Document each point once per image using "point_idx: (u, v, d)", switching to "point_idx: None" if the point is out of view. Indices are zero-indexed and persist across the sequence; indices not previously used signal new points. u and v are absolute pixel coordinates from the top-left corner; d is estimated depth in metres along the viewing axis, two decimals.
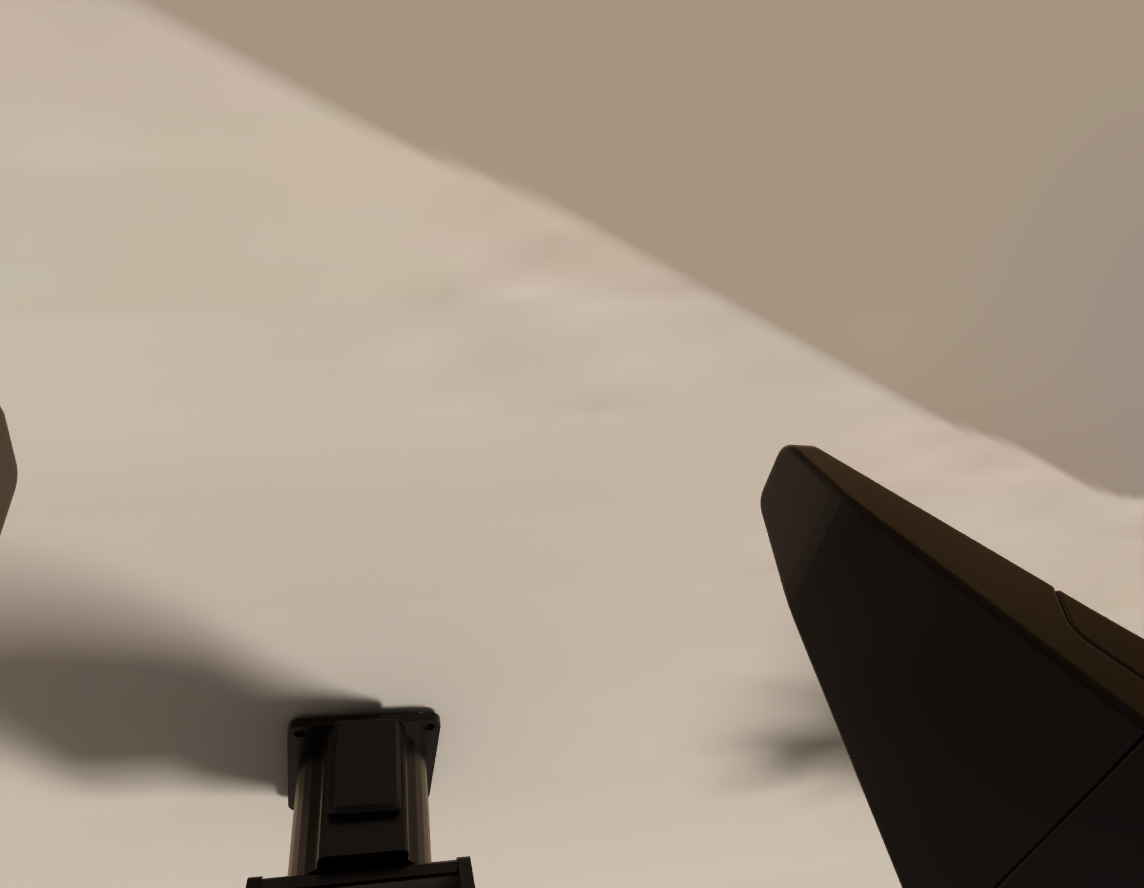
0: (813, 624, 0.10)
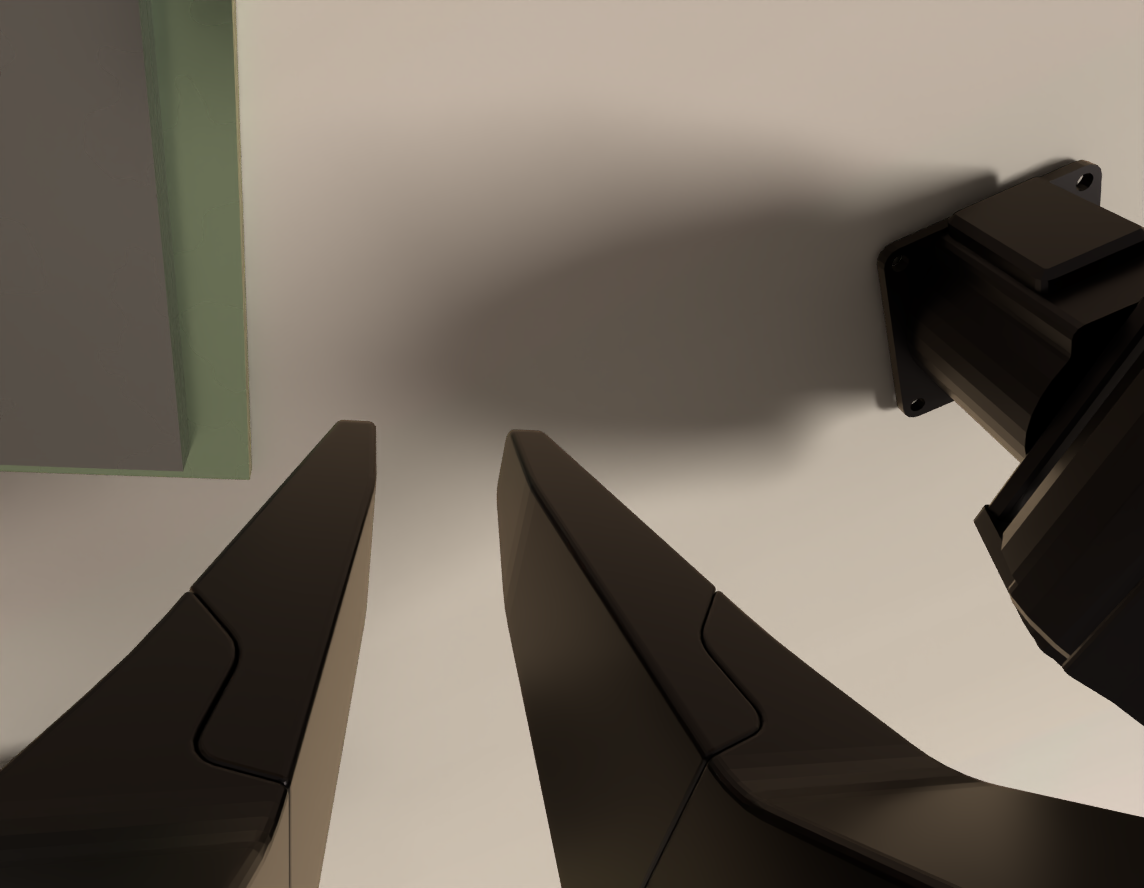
0: (517, 628, 0.09)
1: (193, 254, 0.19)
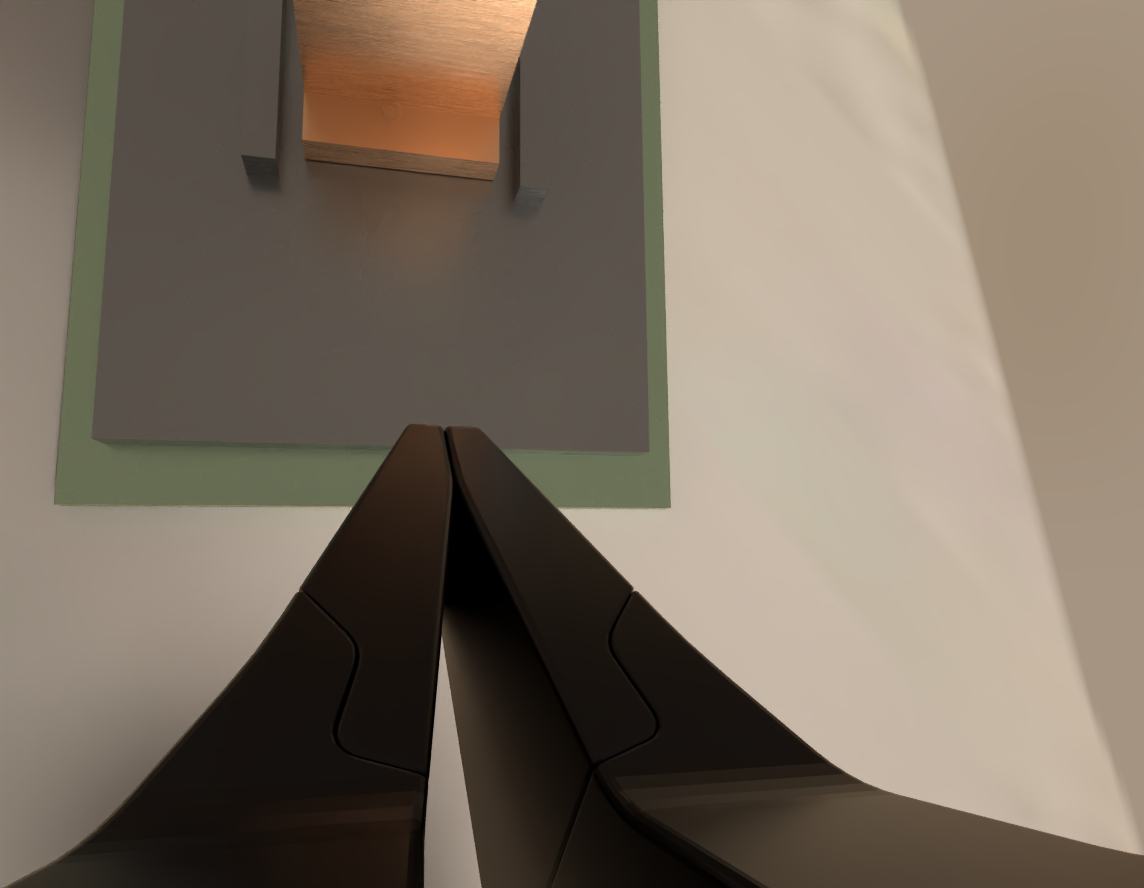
0: (447, 629, 0.08)
1: (345, 466, 0.21)
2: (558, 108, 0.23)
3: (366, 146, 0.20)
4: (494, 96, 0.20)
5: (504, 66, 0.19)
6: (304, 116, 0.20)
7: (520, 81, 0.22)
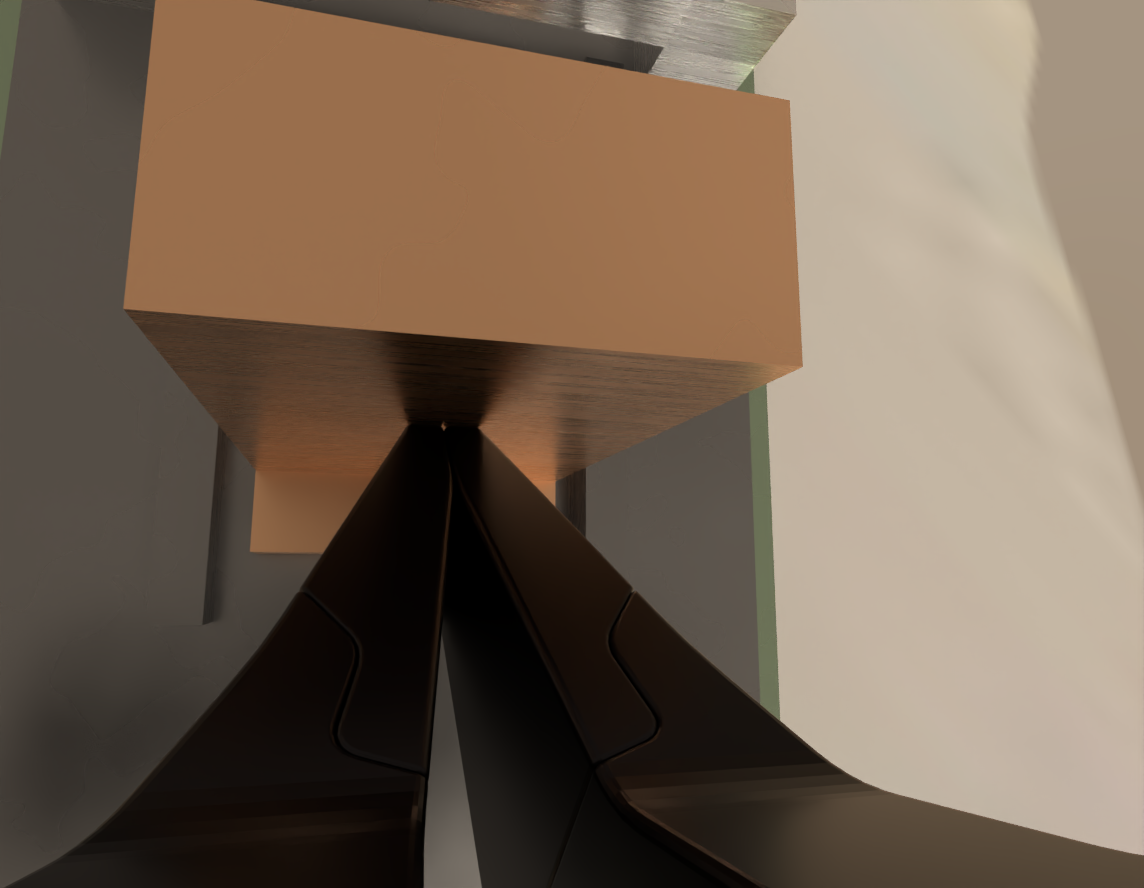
0: (447, 629, 0.08)
1: None
2: (635, 461, 0.16)
3: None
4: (552, 473, 0.13)
5: (576, 462, 0.12)
6: (254, 512, 0.13)
7: None
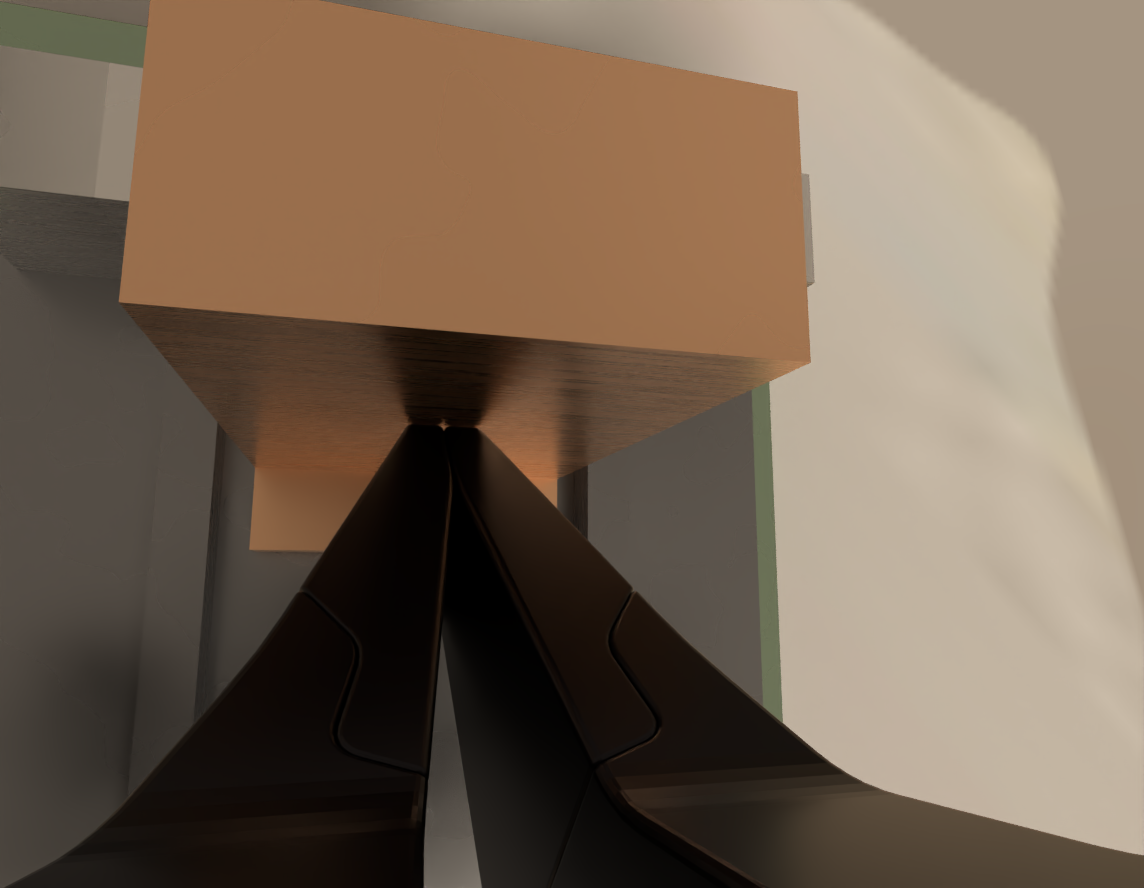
0: (447, 629, 0.08)
1: None
2: None
3: None
4: (554, 471, 0.13)
5: (578, 460, 0.12)
6: (254, 509, 0.12)
7: None
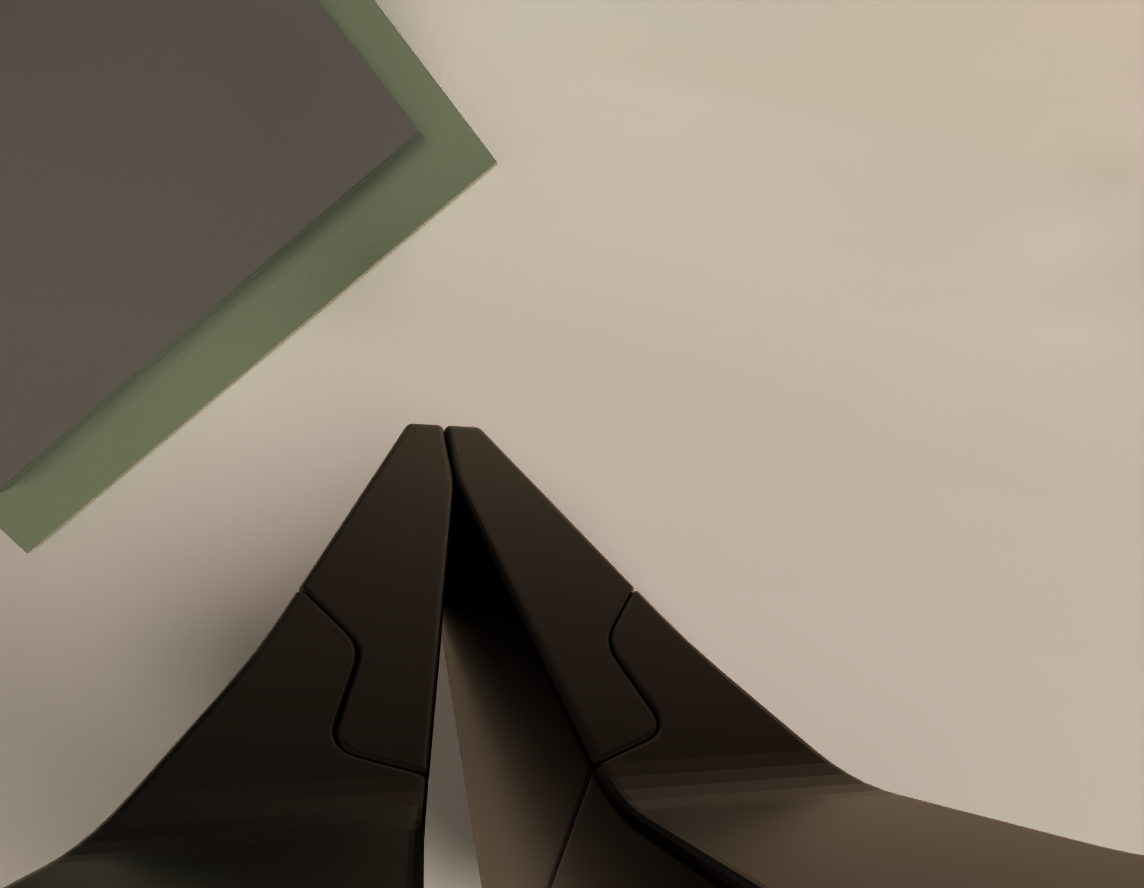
0: (447, 629, 0.08)
1: (184, 364, 0.20)
2: None
3: None
4: None
5: None
6: None
7: None
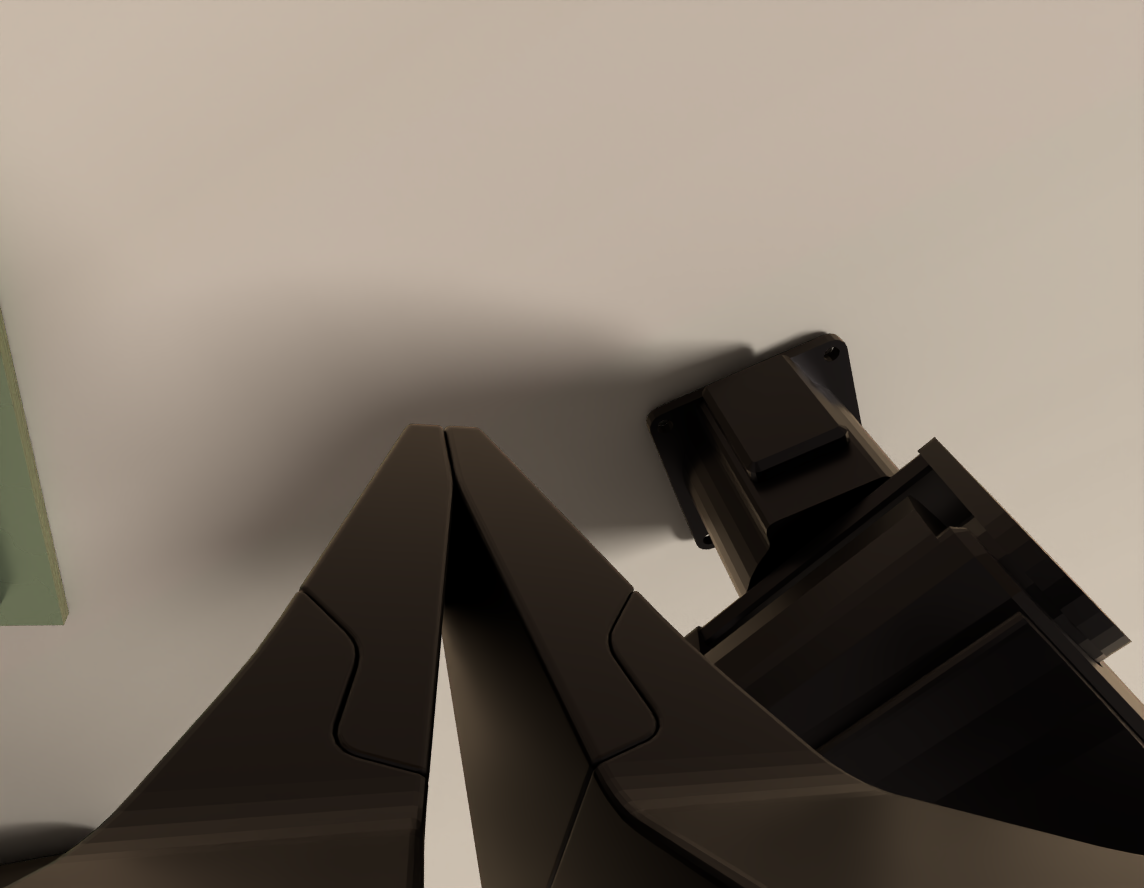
0: (447, 629, 0.08)
1: None
2: None
3: None
4: None
5: None
6: None
7: None
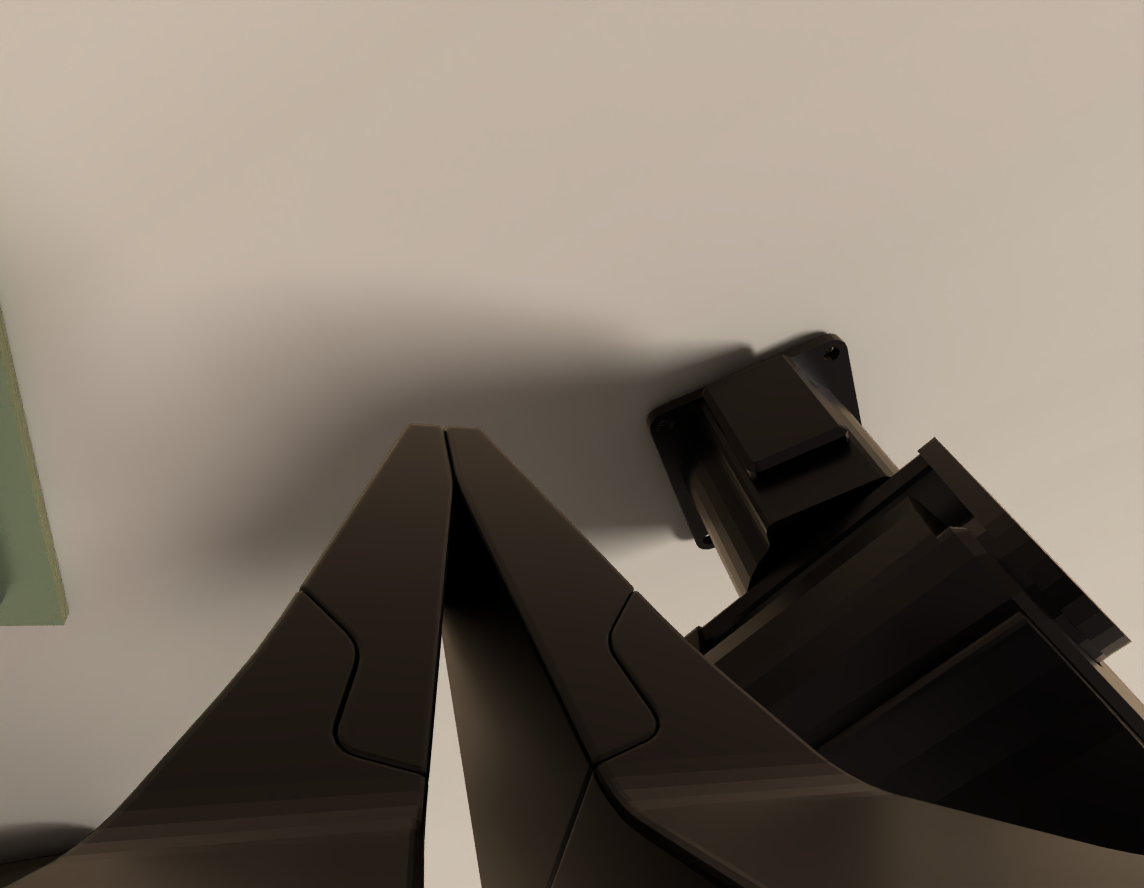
0: (447, 629, 0.08)
1: None
2: None
3: None
4: None
5: None
6: None
7: None
